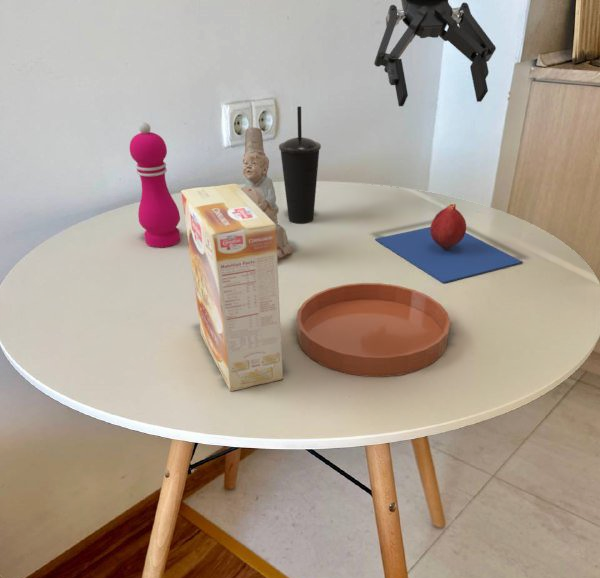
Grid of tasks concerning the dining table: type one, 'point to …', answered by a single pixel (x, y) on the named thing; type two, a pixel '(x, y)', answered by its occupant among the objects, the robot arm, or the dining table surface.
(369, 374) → the bowl
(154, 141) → the pepper mill
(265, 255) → the coffeecake box
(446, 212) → the onion
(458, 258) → the blue cloth
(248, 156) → the figurine
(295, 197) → the drinking cup
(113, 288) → the dining table surface
